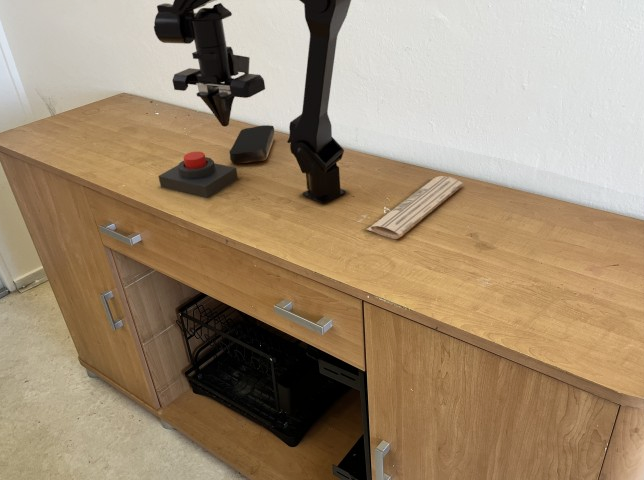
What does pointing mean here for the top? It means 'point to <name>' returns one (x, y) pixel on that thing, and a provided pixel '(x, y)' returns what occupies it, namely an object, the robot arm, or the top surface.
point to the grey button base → (199, 178)
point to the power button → (194, 160)
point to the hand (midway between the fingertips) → (225, 125)
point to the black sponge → (252, 144)
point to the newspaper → (416, 207)
